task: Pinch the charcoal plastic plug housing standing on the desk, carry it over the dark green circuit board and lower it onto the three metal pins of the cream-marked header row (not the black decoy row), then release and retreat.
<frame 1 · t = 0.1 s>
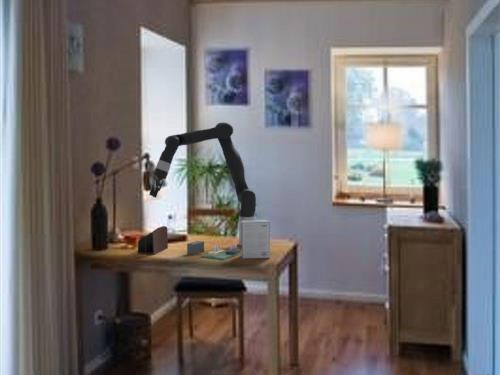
hand: (152, 196, 375), 31 cm above the table, tool tilted 20°, fingers open, 8 cm apart
hard drive box: (255, 257, 363), on the table
letter holder: (153, 251, 378), on the table
plug housing: (195, 253, 373), on the table
pcb board: (221, 255, 367), on the table
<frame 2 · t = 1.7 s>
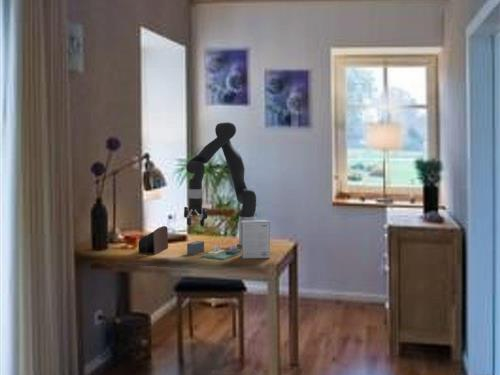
hand: (195, 225, 372), 16 cm above the table, tool pointing down, fingers open, 8 cm apart
nothing on the table moved.
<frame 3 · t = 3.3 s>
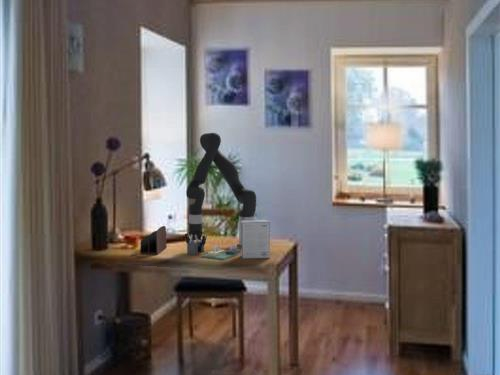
hand: (195, 252, 373), 1 cm above the table, tool pointing down, fingers closed on plug housing, 4 cm apart
plug housing: (195, 253, 373), on the table, touching gripper
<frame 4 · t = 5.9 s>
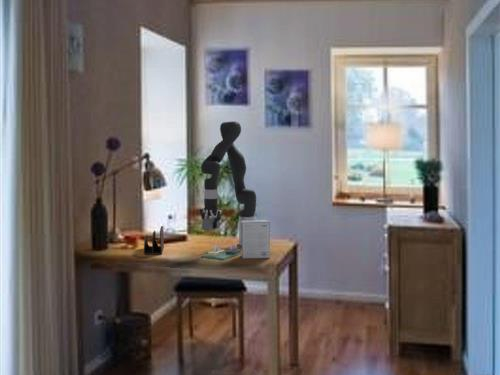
hand: (211, 227, 367), 15 cm above the table, tool pointing down, fingers closed on plug housing, 4 cm apart
plug housing: (210, 228, 367), point 15 cm above the table, touching gripper
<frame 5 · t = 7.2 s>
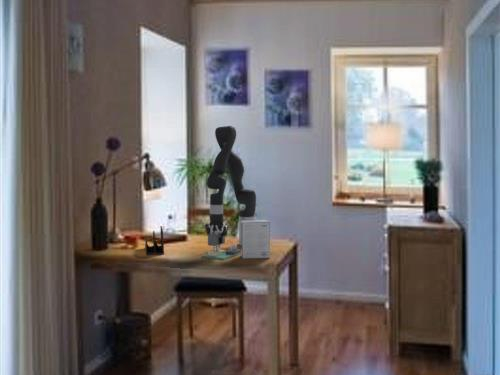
hand: (216, 243, 365), 7 cm above the table, tool pointing down, fingers closed on plug housing, 4 cm apart
plug housing: (216, 244, 365), point 7 cm above the table, touching gripper
when the fingers open (4 cm above the table, at t = 8.3 s): plug housing stays where it is, resting on pcb board.
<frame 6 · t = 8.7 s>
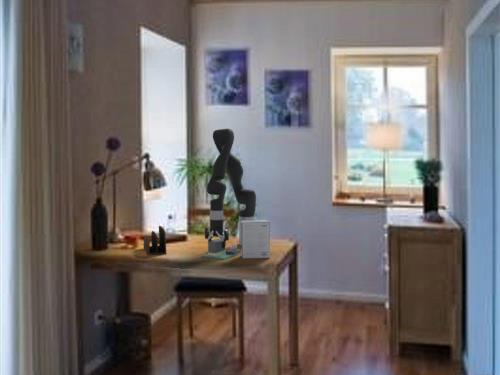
hand: (216, 247, 366), 5 cm above the table, tool pointing down, fingers open, 8 cm apart
plug housing: (216, 251, 366), point 2 cm above the table, touching pcb board
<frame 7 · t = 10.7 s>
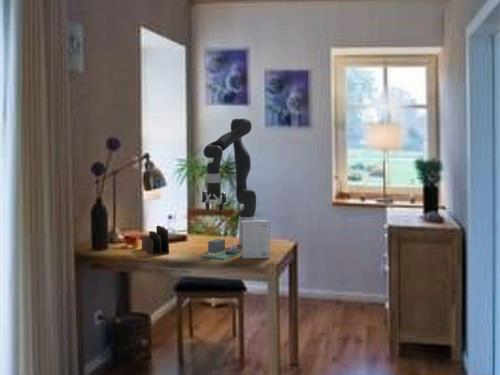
hand: (214, 210, 370), 24 cm above the table, tool pointing down, fingers open, 8 cm apart
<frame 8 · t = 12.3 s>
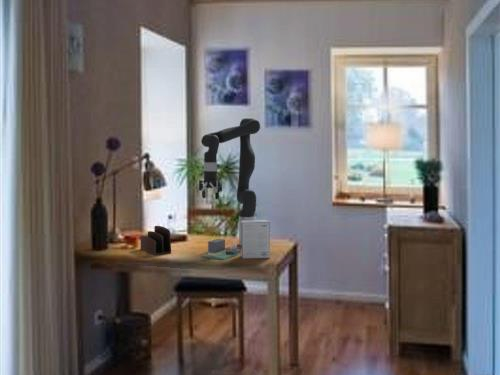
hand: (210, 198, 376), 30 cm above the table, tool pointing down, fingers open, 8 cm apart
at the end: plug housing 0.0 cm from the target spot on the pcb board, point 2.5 cm above the pcb board's base; plug housing tilted 0°; the gripper is holding nothing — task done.
